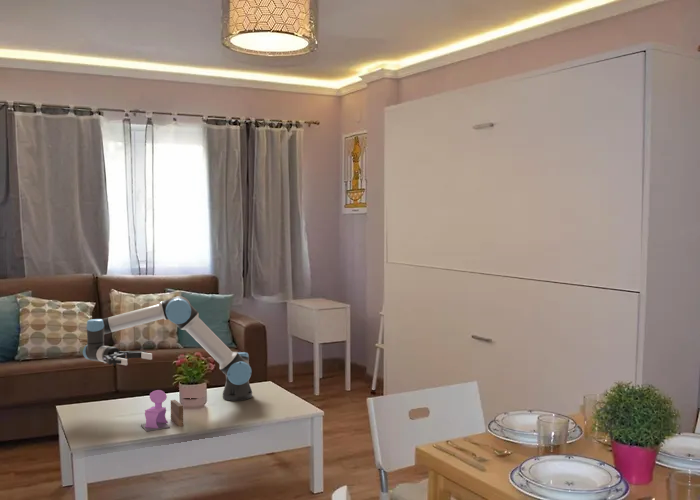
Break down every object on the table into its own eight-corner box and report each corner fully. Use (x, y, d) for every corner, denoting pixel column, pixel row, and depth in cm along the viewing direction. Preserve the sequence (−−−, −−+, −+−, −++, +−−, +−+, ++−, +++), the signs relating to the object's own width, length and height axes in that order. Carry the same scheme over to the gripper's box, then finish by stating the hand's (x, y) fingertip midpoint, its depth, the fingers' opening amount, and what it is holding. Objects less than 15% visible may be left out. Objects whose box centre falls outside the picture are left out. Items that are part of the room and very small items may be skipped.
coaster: (163, 422, 298) (163, 420, 298) (169, 427, 290) (169, 426, 290) (140, 425, 293) (140, 424, 293) (146, 431, 285) (146, 430, 285)
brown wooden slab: (175, 419, 303) (174, 399, 303) (183, 425, 293) (183, 405, 293) (170, 419, 302) (170, 400, 302) (178, 426, 292) (178, 406, 292)
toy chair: (142, 427, 289) (141, 393, 288) (153, 421, 297) (152, 388, 296) (159, 428, 287) (159, 394, 286) (169, 423, 295) (169, 389, 294)
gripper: (131, 357, 318) (161, 362, 306) (85, 367, 297) (116, 373, 285) (131, 342, 318) (161, 346, 306) (85, 351, 297) (115, 356, 285)
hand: (139, 359), depth 296 cm, fingers open, 13 cm apart
